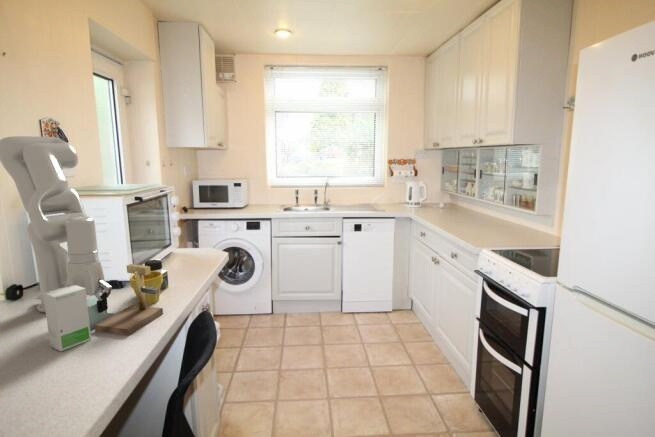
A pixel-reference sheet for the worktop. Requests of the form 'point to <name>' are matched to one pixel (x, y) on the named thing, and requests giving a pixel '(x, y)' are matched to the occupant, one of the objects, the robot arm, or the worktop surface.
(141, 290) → the t key
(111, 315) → the mat
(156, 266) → the medicine bottle
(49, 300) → the skincare box
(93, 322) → the mint green cube
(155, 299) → the plant pot
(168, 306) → the worktop surface
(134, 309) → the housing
